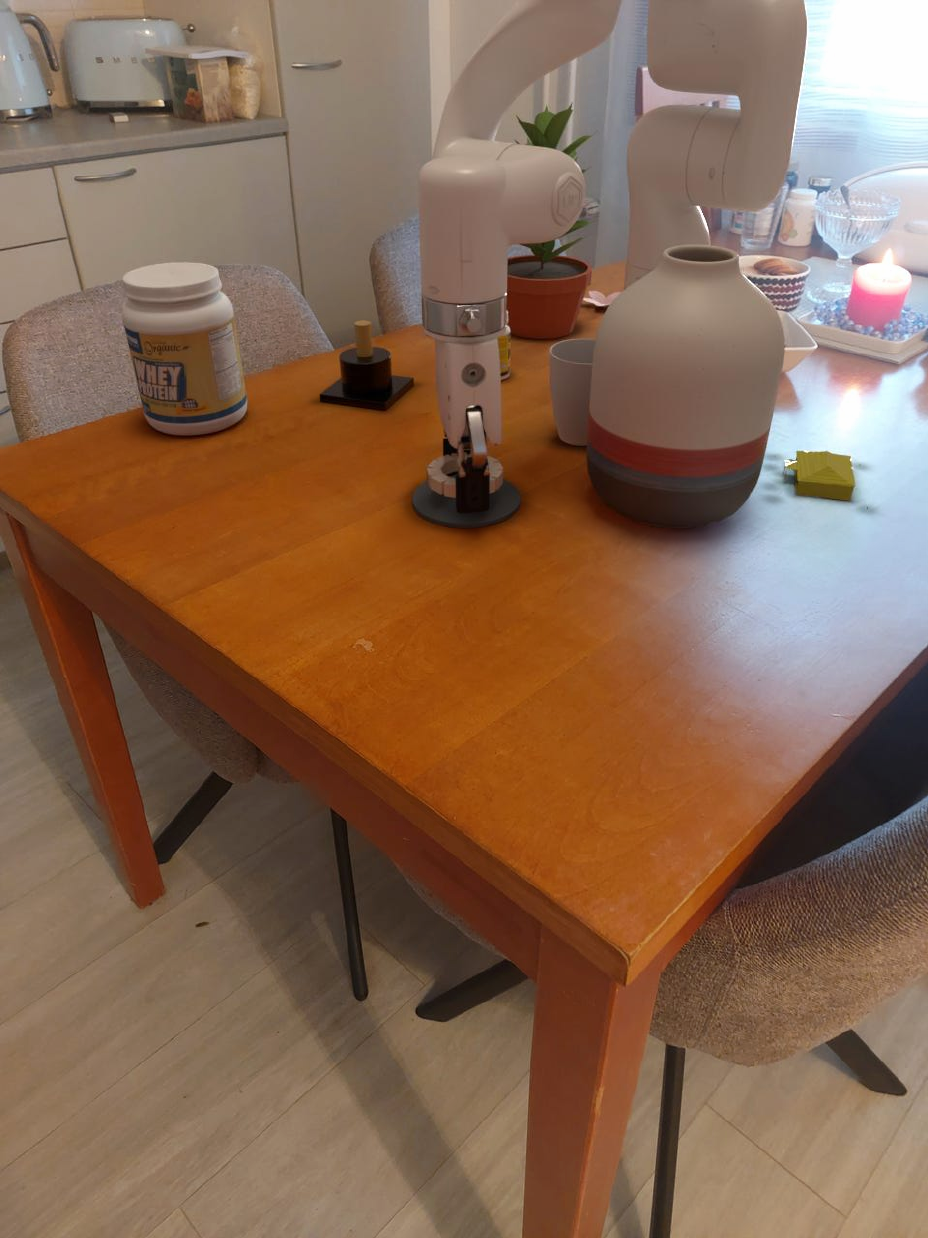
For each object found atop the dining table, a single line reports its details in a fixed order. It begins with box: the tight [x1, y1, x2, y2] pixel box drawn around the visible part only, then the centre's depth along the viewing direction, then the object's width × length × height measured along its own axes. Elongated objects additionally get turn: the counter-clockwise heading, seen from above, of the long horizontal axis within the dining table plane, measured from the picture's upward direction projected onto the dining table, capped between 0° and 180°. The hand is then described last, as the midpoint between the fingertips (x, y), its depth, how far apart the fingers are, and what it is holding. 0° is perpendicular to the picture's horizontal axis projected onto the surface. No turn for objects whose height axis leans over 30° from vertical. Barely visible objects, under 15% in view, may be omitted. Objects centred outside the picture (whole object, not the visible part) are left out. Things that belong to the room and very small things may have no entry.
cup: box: [549, 338, 596, 447], centre depth 100 cm, size 8×8×10 cm
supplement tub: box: [121, 261, 248, 437], centre depth 103 cm, size 12×12×17 cm
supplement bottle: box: [497, 311, 512, 381], centre depth 116 cm, size 5×5×8 cm
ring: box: [426, 452, 504, 498], centre depth 88 cm, size 7×7×1 cm
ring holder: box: [319, 319, 415, 411], centre depth 111 cm, size 9×9×9 cm
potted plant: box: [506, 102, 599, 340], centre depth 126 cm, size 15×15×30 cm
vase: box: [586, 244, 786, 529], centre depth 83 cm, size 17×17×24 cm
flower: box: [583, 289, 623, 307], centre depth 143 cm, size 10×10×2 cm
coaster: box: [411, 476, 522, 529], centre depth 90 cm, size 11×11×1 cm
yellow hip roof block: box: [773, 449, 869, 510], centre depth 92 cm, size 10×9×3 cm
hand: (465, 490), depth 89 cm, fingers closed on ring, 7 cm apart
